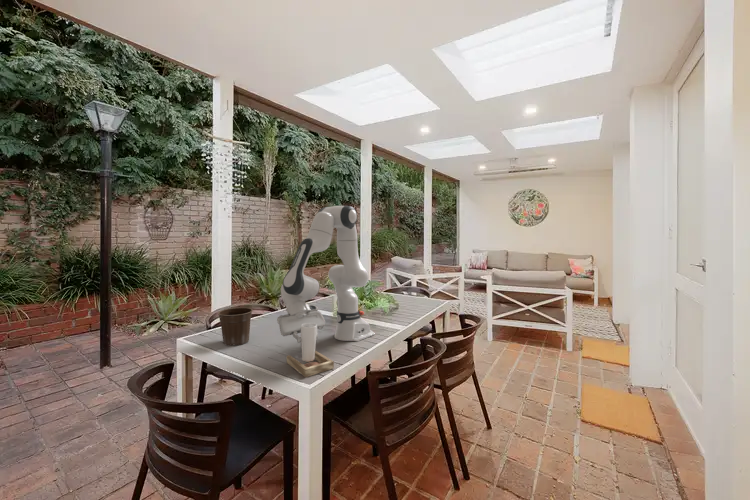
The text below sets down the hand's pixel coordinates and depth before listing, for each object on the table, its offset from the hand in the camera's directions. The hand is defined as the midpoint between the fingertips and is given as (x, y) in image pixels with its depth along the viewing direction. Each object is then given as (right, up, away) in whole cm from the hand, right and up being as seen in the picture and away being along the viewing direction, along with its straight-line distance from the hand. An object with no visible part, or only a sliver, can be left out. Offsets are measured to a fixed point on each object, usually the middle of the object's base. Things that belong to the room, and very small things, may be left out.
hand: (308, 339), depth 134 cm
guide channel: (+1, -11, 0) cm, 11 cm away
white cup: (0, -9, 0) cm, 9 cm away
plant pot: (-43, -9, +27) cm, 52 cm away
